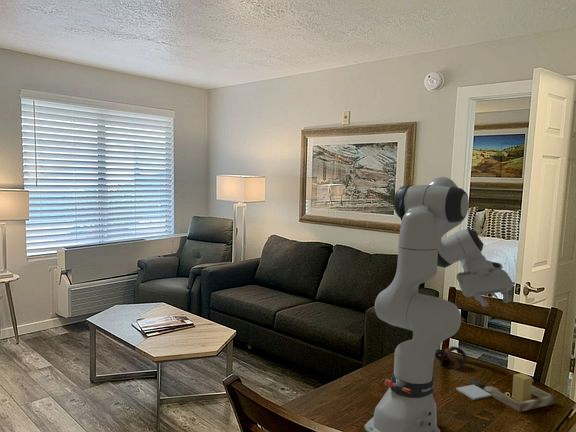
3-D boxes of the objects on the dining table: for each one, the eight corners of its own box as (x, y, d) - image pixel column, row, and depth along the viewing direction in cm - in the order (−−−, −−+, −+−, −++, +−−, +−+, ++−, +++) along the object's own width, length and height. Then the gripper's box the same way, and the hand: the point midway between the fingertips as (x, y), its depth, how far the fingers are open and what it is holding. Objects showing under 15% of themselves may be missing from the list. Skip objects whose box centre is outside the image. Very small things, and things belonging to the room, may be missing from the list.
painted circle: (496, 394, 152) (496, 394, 152) (481, 389, 155) (481, 388, 155) (502, 390, 155) (502, 389, 155) (487, 385, 159) (487, 384, 159)
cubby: (519, 411, 140) (519, 404, 140) (491, 396, 150) (492, 389, 150) (554, 403, 146) (555, 396, 146) (525, 389, 157) (526, 382, 156)
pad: (473, 400, 148) (473, 398, 147) (455, 389, 155) (456, 387, 155) (491, 396, 151) (491, 394, 150) (473, 386, 158) (473, 384, 158)
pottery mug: (456, 360, 183) (465, 347, 179) (461, 379, 175) (471, 365, 170) (428, 352, 182) (437, 339, 178) (433, 371, 174) (442, 357, 170)
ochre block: (522, 403, 146) (523, 379, 146) (512, 397, 150) (513, 374, 149) (530, 401, 148) (532, 377, 147) (520, 395, 152) (522, 373, 151)
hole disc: (480, 388, 156) (480, 387, 156) (466, 383, 160) (466, 382, 160) (486, 384, 160) (486, 383, 160) (473, 379, 163) (473, 379, 163)
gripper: (458, 268, 160) (476, 303, 152) (504, 263, 166) (524, 296, 158) (450, 277, 165) (467, 311, 157) (495, 271, 171) (514, 304, 163)
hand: (496, 303), depth 158 cm, fingers open, 8 cm apart
